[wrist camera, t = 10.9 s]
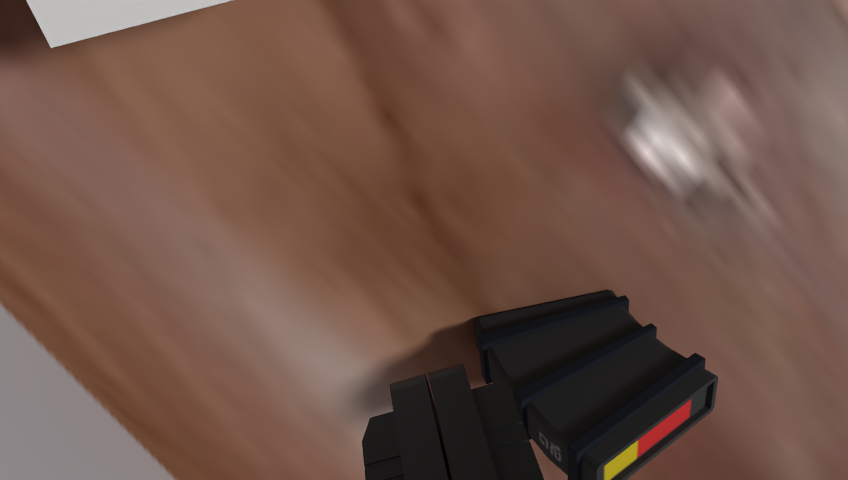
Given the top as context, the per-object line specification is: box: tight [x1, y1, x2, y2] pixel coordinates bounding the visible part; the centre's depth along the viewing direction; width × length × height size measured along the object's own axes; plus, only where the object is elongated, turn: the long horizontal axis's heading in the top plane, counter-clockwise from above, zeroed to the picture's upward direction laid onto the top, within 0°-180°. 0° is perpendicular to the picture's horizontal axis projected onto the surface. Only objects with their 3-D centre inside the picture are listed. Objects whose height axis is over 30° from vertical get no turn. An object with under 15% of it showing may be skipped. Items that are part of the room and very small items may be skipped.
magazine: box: [475, 290, 718, 480], centre depth 46 cm, size 4×13×15 cm, turn 97°
